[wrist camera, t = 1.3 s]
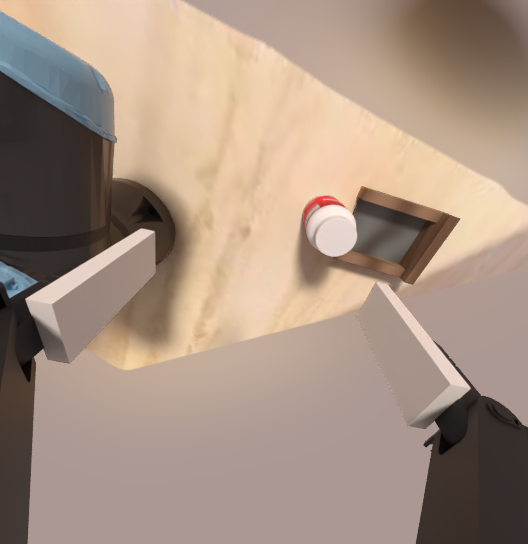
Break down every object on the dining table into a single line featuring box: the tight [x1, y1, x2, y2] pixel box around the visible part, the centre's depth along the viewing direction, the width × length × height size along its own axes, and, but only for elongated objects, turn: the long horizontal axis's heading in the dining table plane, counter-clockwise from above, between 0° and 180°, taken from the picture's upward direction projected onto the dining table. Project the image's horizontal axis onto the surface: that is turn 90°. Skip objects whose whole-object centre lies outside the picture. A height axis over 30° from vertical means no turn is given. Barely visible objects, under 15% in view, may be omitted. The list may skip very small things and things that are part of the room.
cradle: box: [334, 186, 460, 285], centre depth 34 cm, size 13×11×4 cm
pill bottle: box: [302, 195, 357, 257], centre depth 31 cm, size 6×6×11 cm
